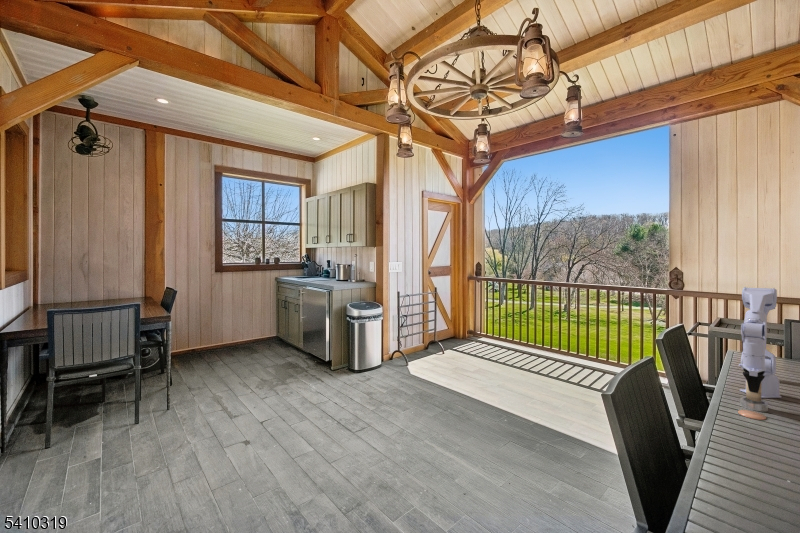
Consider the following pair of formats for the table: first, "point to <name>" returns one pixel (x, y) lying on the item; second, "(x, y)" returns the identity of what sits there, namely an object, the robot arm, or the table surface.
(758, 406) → the collar
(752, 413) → the coaster
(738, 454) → the table surface
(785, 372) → the table surface
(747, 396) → the peg
